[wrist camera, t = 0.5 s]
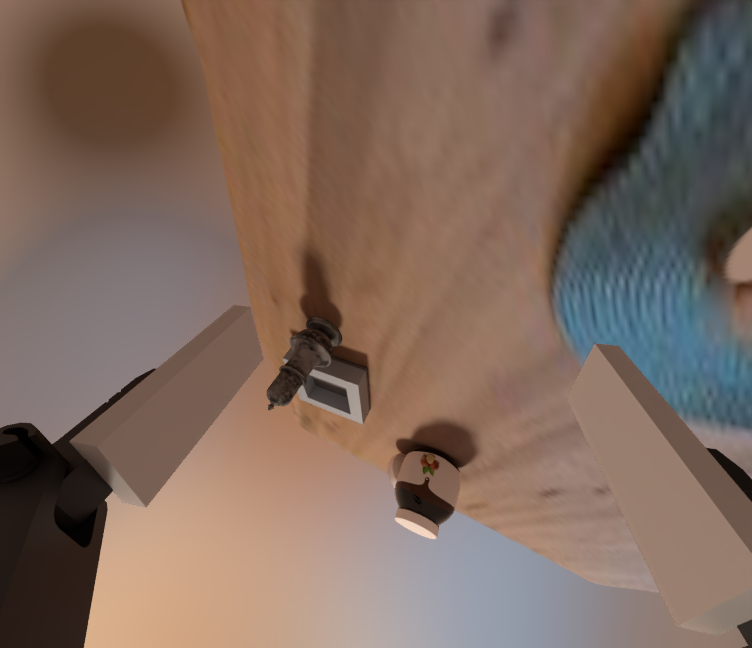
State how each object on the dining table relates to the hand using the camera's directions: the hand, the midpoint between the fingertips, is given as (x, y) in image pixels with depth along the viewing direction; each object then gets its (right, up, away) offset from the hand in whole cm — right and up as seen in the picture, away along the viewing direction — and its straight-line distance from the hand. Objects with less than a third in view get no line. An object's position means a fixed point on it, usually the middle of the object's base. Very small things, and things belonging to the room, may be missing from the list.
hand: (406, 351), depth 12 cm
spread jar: (+8, -23, +43) cm, 50 cm away
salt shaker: (-8, 0, +27) cm, 28 cm away
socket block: (-8, -7, +35) cm, 37 cm away
